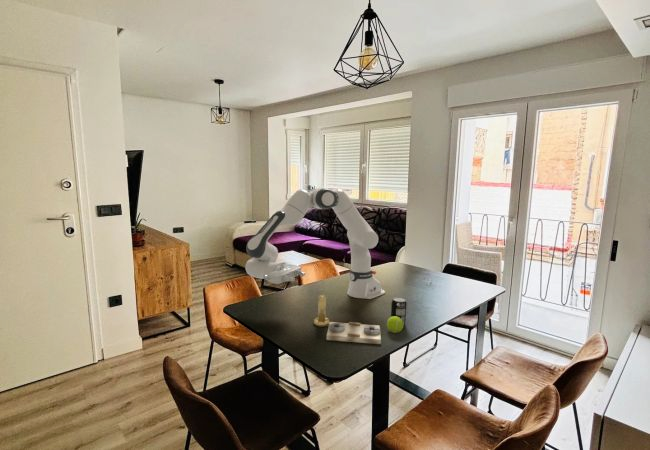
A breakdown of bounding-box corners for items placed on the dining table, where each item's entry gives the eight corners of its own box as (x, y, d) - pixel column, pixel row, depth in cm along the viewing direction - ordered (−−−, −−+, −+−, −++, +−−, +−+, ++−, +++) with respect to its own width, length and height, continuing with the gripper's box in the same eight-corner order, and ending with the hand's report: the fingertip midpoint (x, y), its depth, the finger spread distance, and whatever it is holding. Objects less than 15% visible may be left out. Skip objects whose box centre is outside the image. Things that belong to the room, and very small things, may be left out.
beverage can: (394, 320, 161) (396, 295, 160) (407, 324, 157) (409, 299, 155) (387, 324, 156) (389, 299, 154) (400, 328, 152) (402, 303, 150)
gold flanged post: (323, 319, 160) (324, 292, 158) (332, 324, 154) (333, 297, 152) (311, 322, 156) (311, 295, 154) (319, 328, 150) (320, 300, 148)
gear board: (379, 329, 150) (379, 321, 150) (380, 344, 138) (381, 335, 137) (329, 326, 153) (329, 318, 152) (326, 339, 140) (326, 331, 139)
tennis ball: (383, 331, 149) (384, 316, 148) (392, 327, 154) (393, 312, 153) (396, 337, 144) (397, 321, 143) (405, 332, 149) (406, 317, 148)
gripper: (261, 270, 154) (286, 275, 148) (286, 261, 172) (310, 265, 166) (261, 284, 155) (286, 289, 149) (286, 273, 173) (310, 278, 167)
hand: (299, 276), depth 158 cm, fingers open, 8 cm apart
